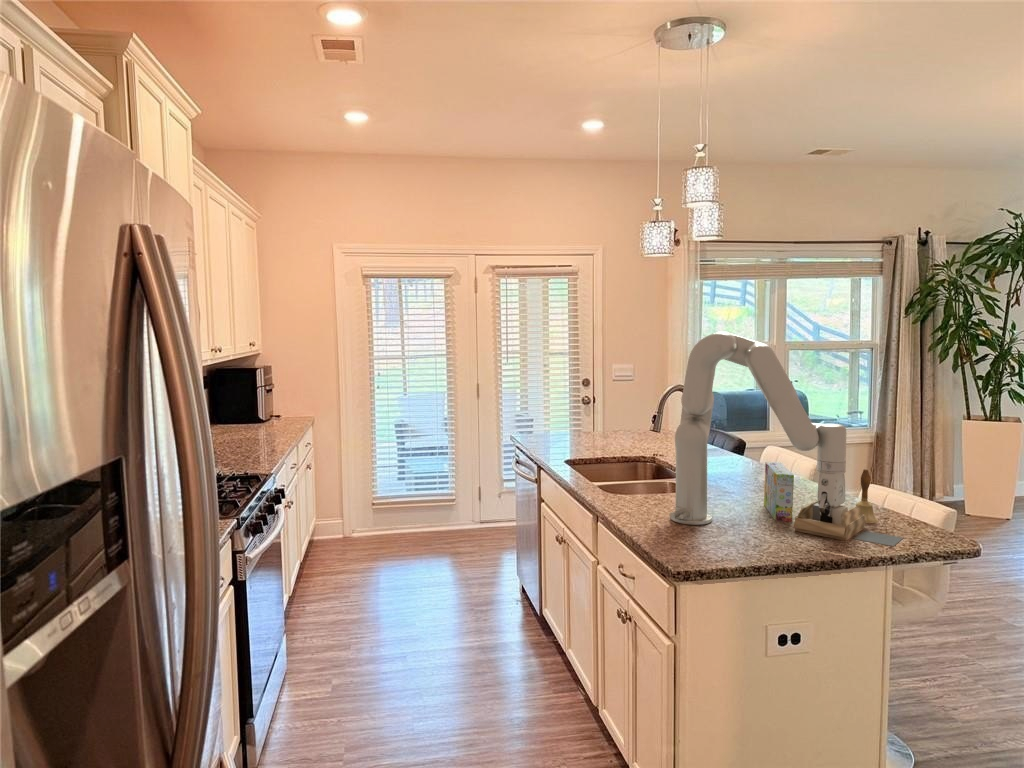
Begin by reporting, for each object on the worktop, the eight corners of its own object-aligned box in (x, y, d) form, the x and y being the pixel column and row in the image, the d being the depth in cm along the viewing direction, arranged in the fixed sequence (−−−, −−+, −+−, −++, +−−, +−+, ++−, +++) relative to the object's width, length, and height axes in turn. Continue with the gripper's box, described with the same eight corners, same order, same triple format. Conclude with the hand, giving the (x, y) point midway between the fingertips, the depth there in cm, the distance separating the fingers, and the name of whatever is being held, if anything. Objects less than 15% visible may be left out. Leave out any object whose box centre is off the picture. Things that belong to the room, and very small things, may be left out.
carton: (843, 543, 182) (844, 517, 182) (792, 533, 192) (792, 509, 191) (866, 528, 196) (866, 504, 196) (817, 519, 206) (817, 496, 205)
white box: (841, 534, 189) (841, 509, 189) (812, 528, 195) (812, 505, 194) (847, 530, 193) (847, 506, 193) (818, 524, 199) (819, 501, 198)
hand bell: (849, 515, 210) (851, 466, 209) (879, 519, 206) (881, 468, 204) (847, 522, 203) (849, 471, 202) (878, 526, 198) (880, 473, 197)
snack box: (794, 523, 203) (795, 474, 202) (774, 522, 204) (775, 474, 203) (780, 505, 224) (781, 461, 222) (762, 505, 225) (763, 461, 224)
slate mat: (893, 548, 178) (893, 546, 178) (853, 540, 185) (853, 538, 185) (903, 539, 185) (903, 537, 185) (864, 532, 192) (864, 530, 192)
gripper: (834, 472, 184) (833, 536, 185) (854, 463, 196) (853, 523, 198) (806, 469, 189) (805, 531, 190) (828, 460, 201) (826, 518, 203)
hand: (829, 526), depth 194 cm, fingers open, 5 cm apart
